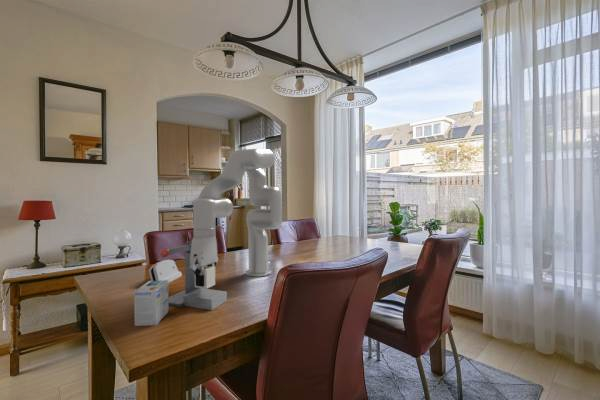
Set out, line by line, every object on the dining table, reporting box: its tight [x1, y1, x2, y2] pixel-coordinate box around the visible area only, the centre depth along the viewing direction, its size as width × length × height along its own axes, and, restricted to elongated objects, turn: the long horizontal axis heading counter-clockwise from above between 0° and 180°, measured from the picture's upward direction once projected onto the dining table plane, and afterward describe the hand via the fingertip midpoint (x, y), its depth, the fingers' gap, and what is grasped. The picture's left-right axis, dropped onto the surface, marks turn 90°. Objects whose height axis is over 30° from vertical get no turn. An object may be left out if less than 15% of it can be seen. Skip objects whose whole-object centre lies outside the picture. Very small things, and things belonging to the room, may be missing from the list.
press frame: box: [168, 240, 228, 311], centre depth 112 cm, size 17×21×20 cm
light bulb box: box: [133, 280, 170, 327], centre depth 95 cm, size 11×7×11 cm, turn 5°
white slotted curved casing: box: [148, 259, 183, 284], centre depth 136 cm, size 17×5×10 cm, turn 173°
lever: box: [159, 243, 191, 258], centre depth 115 cm, size 23×3×3 cm, turn 160°
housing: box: [195, 265, 216, 289], centre depth 108 cm, size 5×5×8 cm
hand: (205, 283), depth 108 cm, fingers closed on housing, 5 cm apart
